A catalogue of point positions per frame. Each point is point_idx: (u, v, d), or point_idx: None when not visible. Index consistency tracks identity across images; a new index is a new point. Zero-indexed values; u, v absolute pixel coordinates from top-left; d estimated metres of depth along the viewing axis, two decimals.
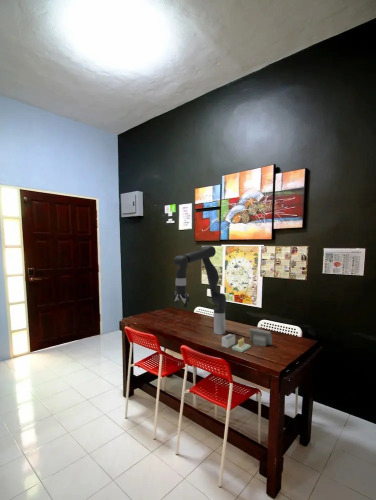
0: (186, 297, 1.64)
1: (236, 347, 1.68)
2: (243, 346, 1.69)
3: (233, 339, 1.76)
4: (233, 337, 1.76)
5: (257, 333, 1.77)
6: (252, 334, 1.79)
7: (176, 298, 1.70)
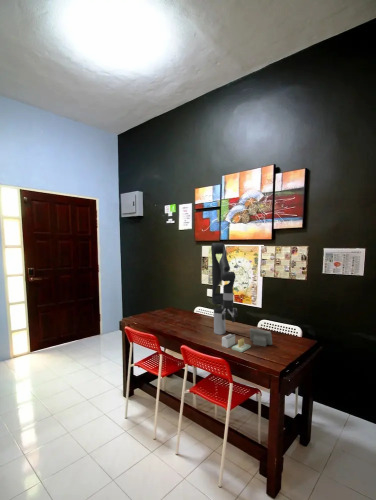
0: (235, 311, 1.71)
1: (236, 347, 1.68)
2: (243, 346, 1.69)
3: (233, 339, 1.76)
4: (233, 337, 1.76)
5: (257, 333, 1.77)
6: (252, 334, 1.80)
7: (223, 312, 1.77)
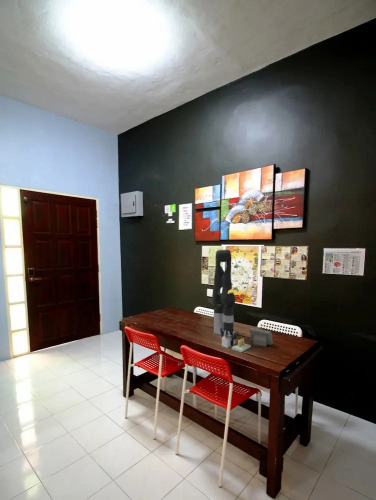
0: (234, 335, 1.71)
1: (236, 347, 1.68)
2: (243, 346, 1.69)
3: None
4: None
5: (257, 333, 1.77)
6: (252, 334, 1.80)
7: (224, 334, 1.76)
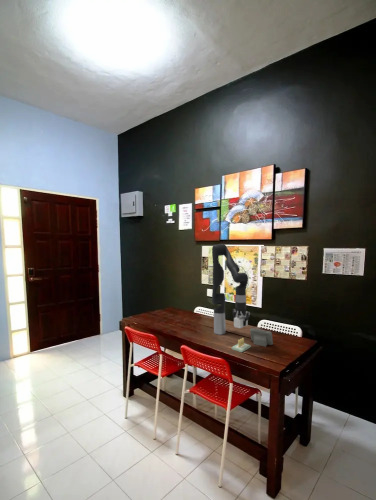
0: (247, 315, 1.65)
1: (236, 347, 1.68)
2: (243, 346, 1.69)
3: None
4: None
5: (258, 333, 1.77)
6: (253, 334, 1.80)
7: (237, 315, 1.70)
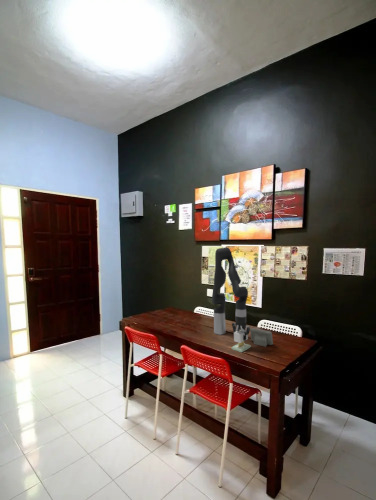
0: (247, 330, 1.65)
1: (236, 347, 1.68)
2: (243, 346, 1.69)
3: None
4: None
5: (258, 333, 1.77)
6: (253, 334, 1.80)
7: (237, 329, 1.70)
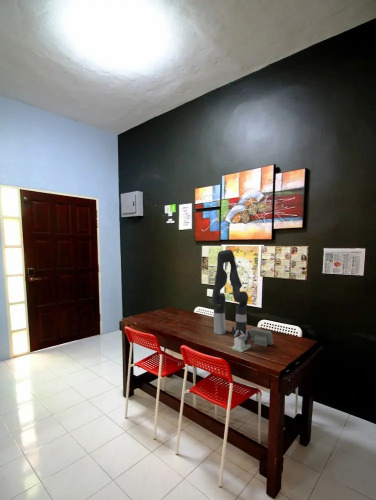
0: (248, 334, 1.65)
1: None
2: None
3: None
4: None
5: (258, 333, 1.77)
6: (253, 334, 1.80)
7: (236, 334, 1.71)
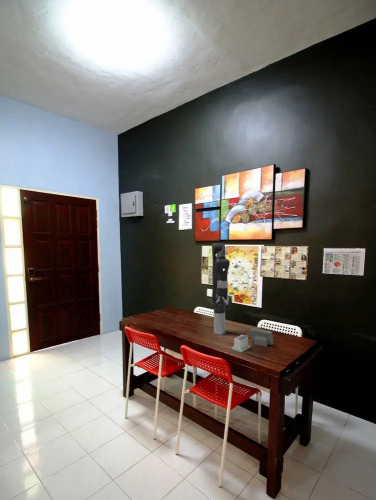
0: (229, 299, 1.68)
1: None
2: None
3: (246, 340, 1.70)
4: (246, 338, 1.70)
5: (258, 333, 1.77)
6: (253, 334, 1.80)
7: (218, 300, 1.74)
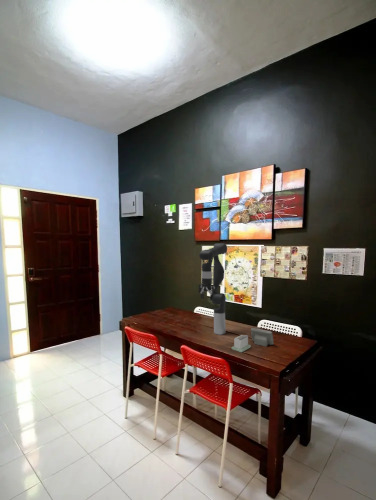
0: (212, 289, 1.72)
1: None
2: None
3: (246, 340, 1.70)
4: (246, 338, 1.70)
5: (258, 333, 1.77)
6: (253, 334, 1.80)
7: (202, 290, 1.78)
